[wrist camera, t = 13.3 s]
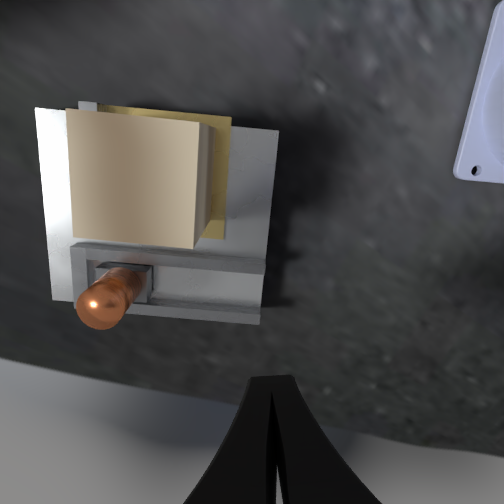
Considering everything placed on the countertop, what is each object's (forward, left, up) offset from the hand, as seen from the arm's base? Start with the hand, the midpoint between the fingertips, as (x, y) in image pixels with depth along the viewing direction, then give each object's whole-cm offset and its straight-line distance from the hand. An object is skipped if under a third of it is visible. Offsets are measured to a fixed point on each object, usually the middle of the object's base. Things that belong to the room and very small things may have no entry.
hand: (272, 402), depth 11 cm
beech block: (+5, -6, -9) cm, 12 cm away
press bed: (+6, -3, -10) cm, 12 cm away
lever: (+8, 0, -8) cm, 11 cm away
